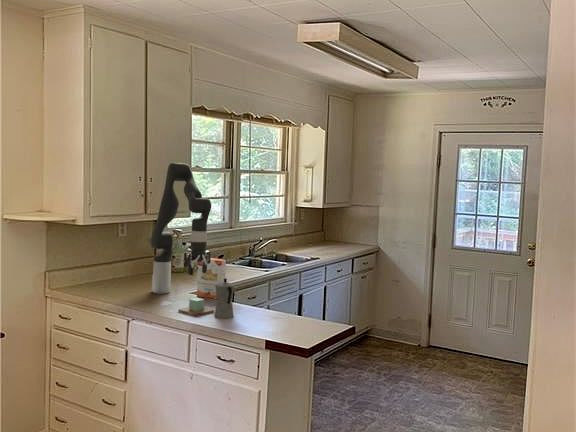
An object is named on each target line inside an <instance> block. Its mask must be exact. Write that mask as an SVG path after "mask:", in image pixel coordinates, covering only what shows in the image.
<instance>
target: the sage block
mask: <svg viewBox="0 0 576 432" xmlns="http://www.w3.org/2000/svg"><path fill="white" fill-rule="evenodd" d="M188 303H189V304H188V305H189V306H188V307H189V310H193V311H201V310H204V307H205V299H203V298H201V297H193V298H190V299H189V302H188Z"/></svg>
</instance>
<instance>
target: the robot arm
mask: <svg viewBox="0 0 576 432" xmlns="http://www.w3.org/2000/svg"><path fill="white" fill-rule="evenodd" d="M175 182H185V184H184V186H183V193H184V195H185V197H186V199H187V201H188V210H189V211H190V212H191V213H193V214H200V216H199V217H194V218H193V219H191V233H190V248H189V249H190V251H191V252H190V253H189V252H188V253H187V252H186V253H185V258H184V259H185V260H184V266H185V267H187V268H188V269H187V271H188V272H187V274H188V275H189V276H193V275H194V265H196V264H197V263H198V262H199V261H201V262H202V264H203V265H202V273H206V272H207V265H208V264H210V262H211V258H212V257H211V251H209V250H207V247H208V245H207V243H208V235H207V234H208V231H207V230H208V228H207V227H208V220H209V216H210V213H211V210H212V202H211V200H210V199H209V198H206V197H204V198H203V194H202V193H201V191H200V189H199V187H198V185H197V184H196V180H195V177H194V175H193V171H192V169H191V166H190V165H189V164H187V163H183V162H170V163H169V165H168V167H167V171H166V176H165V184H164V190H163V193H162V198H161V201H160V206H159V209H158V214H157V219H156V222H155V225H154V228H153V231H152V234H151V238H150V246H151V248H152V249H154V250H155V249H156V250H162V251H161V252H159V253H158V254H155V255H154V256H153V272H152V274H151V275H152V276H151V292H152V293H153V294H156V295H157V294H159V295H160V294H161V295H164V294H170V292H171V277H172V276H171V274H172V273H171V272H172V271H171V270H172V256H173V243H174V239H173V236H174V235H173V234H172V232H171V231H164V229H165V228H166V227H167V226H168V225H169V224H170V222H172V221H173V220H174V218H175V217H176V216H177V213H178V209H179V206H180V202H179V198H178V196H177V194H176V192H175V189H174V183H175Z"/></svg>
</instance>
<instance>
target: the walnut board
mask: <svg viewBox="0 0 576 432" xmlns="http://www.w3.org/2000/svg"><path fill="white" fill-rule="evenodd" d="M178 313H181V314H184V315H188V316H192V317H196V318H197V317H200V316H204V315H210V314H213V313H214V314H215V309H211V308H209V307H206V306H204V310H201V311H193V310H189V306H187V307H183V308H180V309H178Z"/></svg>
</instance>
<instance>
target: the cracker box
mask: <svg viewBox="0 0 576 432" xmlns="http://www.w3.org/2000/svg"><path fill="white" fill-rule="evenodd" d="M202 265H203V264H202V262H201V261H199V262H197V279H196V280H197V282H196V283H197V284H196V285H197V287H196V288H197V289H196V298H205V299H206V298H207V299H213V300H218V299H217V295H216V286H215V285H216V284H217V283H222V282H224V279H225V278H226V274H227V272H226V271H227V259H224V258H214V257H213V258H212V257H211V262H210V264H208V265H207V272H206V273H202Z"/></svg>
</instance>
